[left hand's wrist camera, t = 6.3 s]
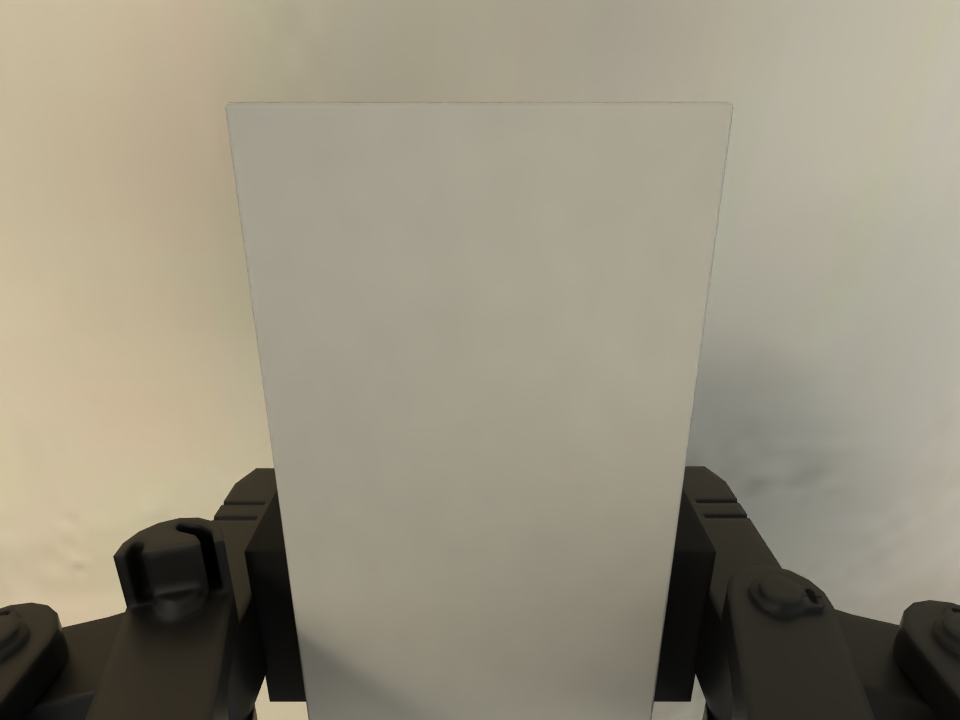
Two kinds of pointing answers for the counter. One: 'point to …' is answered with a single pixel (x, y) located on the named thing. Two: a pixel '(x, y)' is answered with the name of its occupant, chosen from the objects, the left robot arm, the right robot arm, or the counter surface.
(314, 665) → the beam
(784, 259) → the counter surface
